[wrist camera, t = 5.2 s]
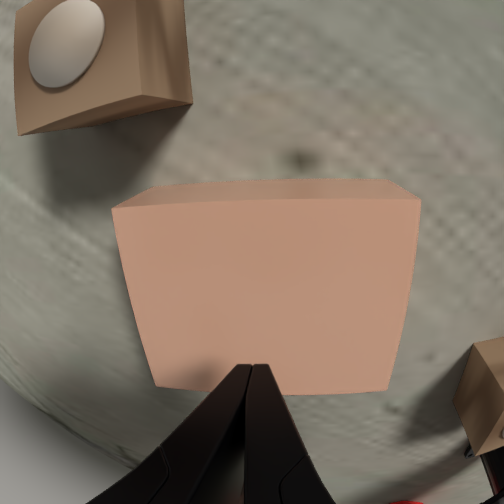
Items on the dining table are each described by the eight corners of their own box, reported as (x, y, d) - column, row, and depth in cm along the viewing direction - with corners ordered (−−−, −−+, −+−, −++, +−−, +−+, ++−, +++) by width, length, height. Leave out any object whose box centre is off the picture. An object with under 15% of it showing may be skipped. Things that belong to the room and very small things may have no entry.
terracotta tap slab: (370, 335, 16) (386, 390, 12) (180, 335, 17) (156, 386, 13) (385, 178, 13) (421, 199, 9) (155, 185, 14) (111, 208, 10)
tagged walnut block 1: (193, 103, 12) (138, 94, 7) (92, 126, 13) (14, 136, 8) (184, -1, 10) (132, -51, 5) (86, 31, 11) (12, 10, 6)
